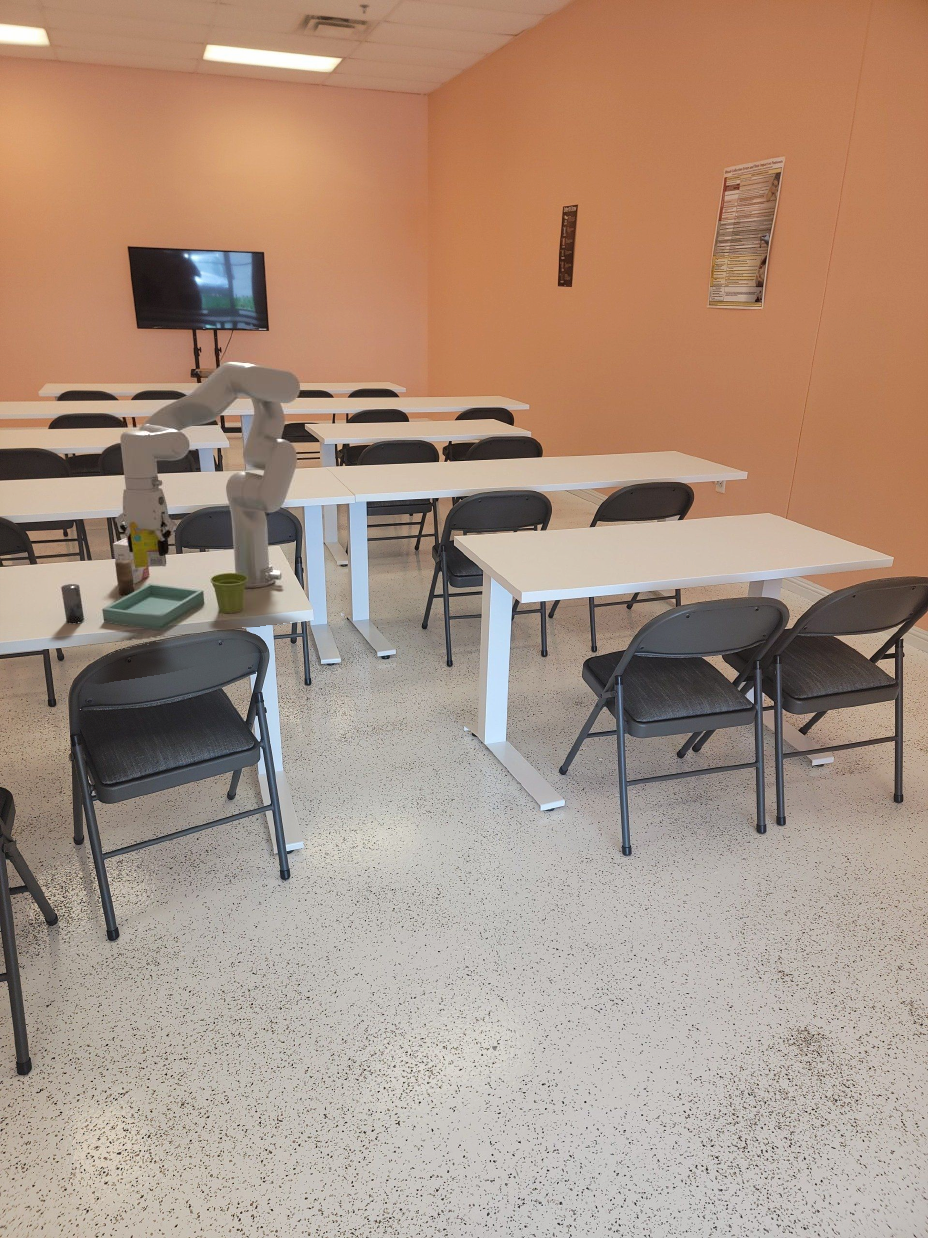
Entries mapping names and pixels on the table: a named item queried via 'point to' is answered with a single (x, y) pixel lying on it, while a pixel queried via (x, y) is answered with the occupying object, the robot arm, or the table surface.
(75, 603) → the graphite cylinder
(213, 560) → the table surface
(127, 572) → the walnut cylinder
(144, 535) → the crayon box
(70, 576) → the table surface
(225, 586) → the plant pot
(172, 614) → the teal tray
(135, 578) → the ink cartridge box
